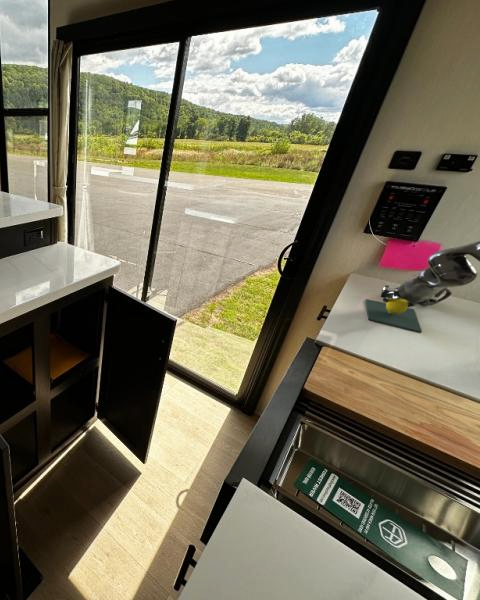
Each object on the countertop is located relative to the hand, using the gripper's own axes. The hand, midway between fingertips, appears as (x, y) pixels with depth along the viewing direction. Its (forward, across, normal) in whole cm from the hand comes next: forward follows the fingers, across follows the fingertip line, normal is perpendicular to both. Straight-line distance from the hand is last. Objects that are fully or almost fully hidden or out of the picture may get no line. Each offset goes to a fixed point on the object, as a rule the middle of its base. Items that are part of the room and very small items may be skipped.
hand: (396, 302), depth 114 cm
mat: (+2, 0, -4) cm, 5 cm away
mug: (+14, +11, +7) cm, 19 cm away
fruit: (+2, 0, -4) cm, 5 cm away
